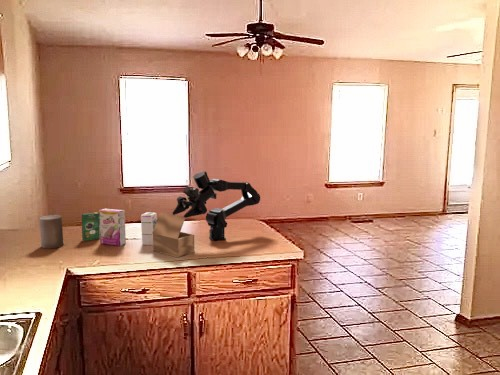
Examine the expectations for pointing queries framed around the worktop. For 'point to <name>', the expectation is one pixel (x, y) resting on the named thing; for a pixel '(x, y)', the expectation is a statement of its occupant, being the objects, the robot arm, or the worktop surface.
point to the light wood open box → (174, 244)
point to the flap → (169, 225)
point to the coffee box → (90, 226)
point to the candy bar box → (112, 227)
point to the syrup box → (148, 227)
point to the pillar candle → (51, 231)
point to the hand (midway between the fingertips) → (178, 215)
